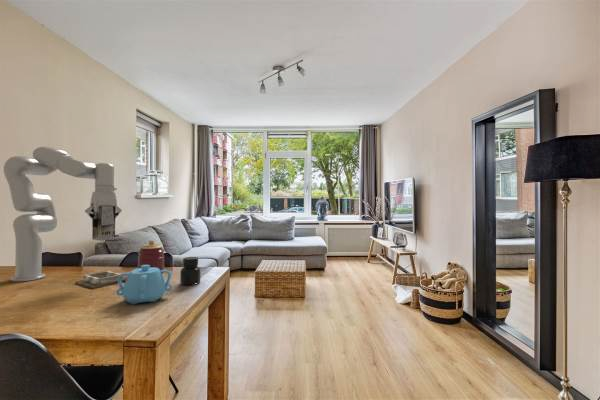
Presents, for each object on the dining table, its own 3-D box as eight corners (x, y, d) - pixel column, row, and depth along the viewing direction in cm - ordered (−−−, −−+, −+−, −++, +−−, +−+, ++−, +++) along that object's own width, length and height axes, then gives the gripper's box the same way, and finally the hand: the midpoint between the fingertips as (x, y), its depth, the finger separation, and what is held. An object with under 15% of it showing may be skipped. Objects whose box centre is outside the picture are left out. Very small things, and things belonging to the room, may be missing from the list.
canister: (131, 275, 153) (132, 241, 153) (148, 269, 166) (148, 238, 166) (154, 276, 151) (154, 242, 151) (169, 270, 164) (169, 239, 164)
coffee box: (115, 239, 140) (116, 205, 140) (100, 241, 135) (101, 206, 135) (106, 238, 145) (106, 205, 145) (91, 239, 139) (92, 205, 140)
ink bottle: (204, 281, 143) (204, 256, 144) (195, 286, 135) (196, 260, 135) (185, 280, 144) (185, 256, 145) (175, 285, 136) (176, 259, 136)
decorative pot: (111, 302, 113) (112, 266, 113) (150, 291, 127) (150, 259, 127) (137, 310, 105) (137, 272, 105) (175, 297, 119) (176, 263, 119)
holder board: (75, 283, 137) (75, 276, 137) (111, 276, 151) (111, 269, 151) (92, 289, 129) (92, 281, 129) (129, 280, 142) (129, 273, 143)
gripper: (119, 190, 149) (118, 225, 149) (79, 188, 134) (79, 227, 134) (127, 190, 146) (126, 226, 145) (87, 188, 131) (87, 228, 130)
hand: (103, 226), depth 140 cm, fingers closed on coffee box, 6 cm apart
